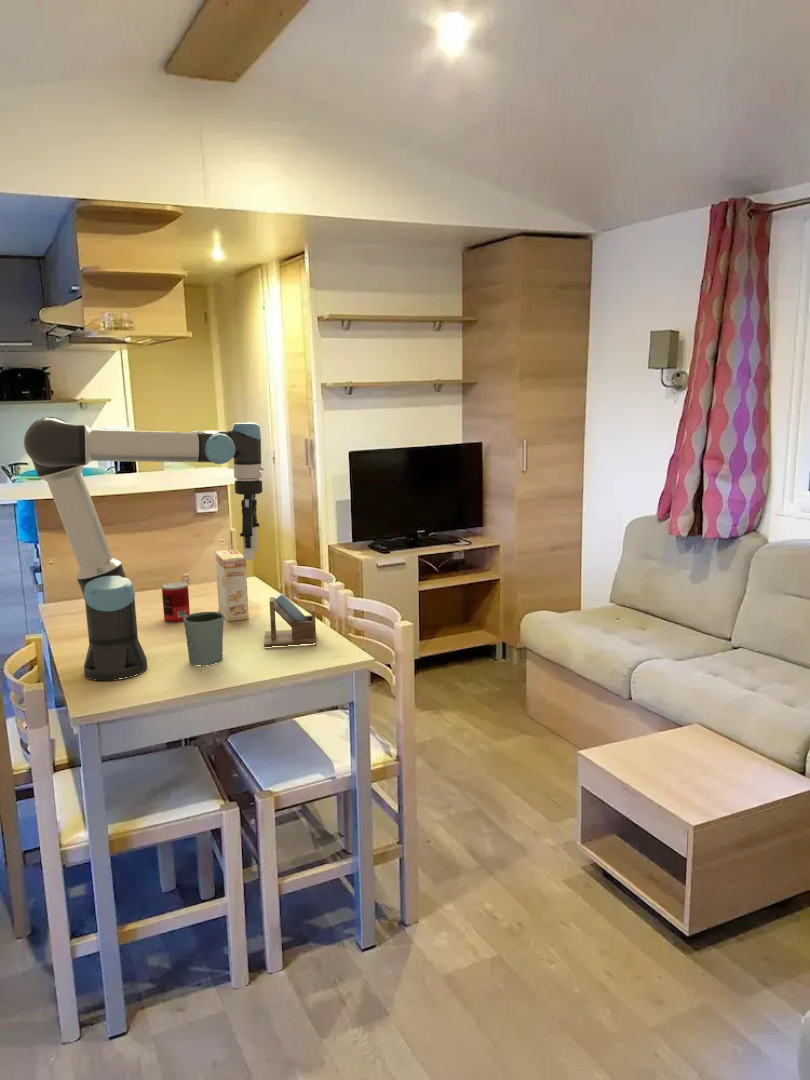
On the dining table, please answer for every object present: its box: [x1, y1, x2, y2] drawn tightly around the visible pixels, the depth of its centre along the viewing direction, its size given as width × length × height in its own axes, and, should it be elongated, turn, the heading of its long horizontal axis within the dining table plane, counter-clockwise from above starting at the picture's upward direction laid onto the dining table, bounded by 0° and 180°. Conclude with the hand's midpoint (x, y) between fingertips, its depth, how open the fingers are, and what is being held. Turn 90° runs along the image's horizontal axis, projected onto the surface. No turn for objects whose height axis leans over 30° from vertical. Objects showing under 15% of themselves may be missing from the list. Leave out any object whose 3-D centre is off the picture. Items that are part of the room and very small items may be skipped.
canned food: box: [161, 581, 191, 624], centre depth 250 cm, size 8×8×11 cm
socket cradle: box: [263, 596, 317, 648], centre depth 227 cm, size 12×14×12 cm
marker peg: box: [274, 592, 309, 622], centre depth 227 cm, size 3×3×12 cm
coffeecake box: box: [214, 548, 250, 622], centre depth 253 cm, size 15×7×20 cm, turn 22°
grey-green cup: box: [183, 611, 225, 667], centre depth 211 cm, size 10×10×12 cm
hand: (250, 554), depth 227 cm, fingers open, 13 cm apart
